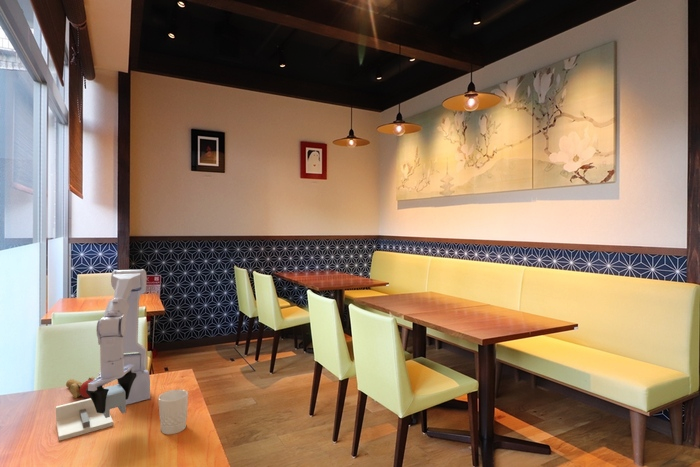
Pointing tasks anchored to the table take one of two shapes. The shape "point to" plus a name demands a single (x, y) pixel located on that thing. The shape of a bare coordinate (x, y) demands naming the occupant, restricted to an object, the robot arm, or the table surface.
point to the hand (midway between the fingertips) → (113, 405)
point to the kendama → (79, 387)
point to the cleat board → (79, 419)
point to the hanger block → (115, 399)
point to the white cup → (173, 411)
